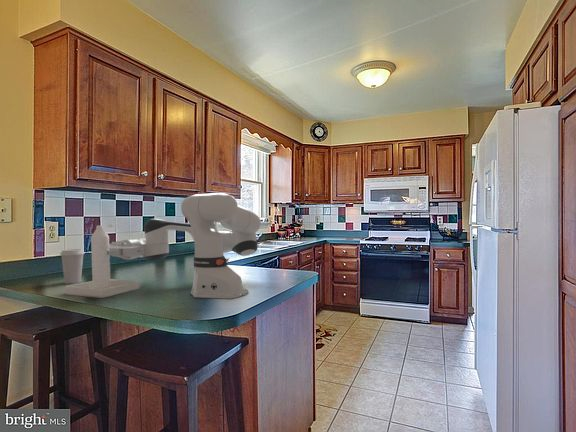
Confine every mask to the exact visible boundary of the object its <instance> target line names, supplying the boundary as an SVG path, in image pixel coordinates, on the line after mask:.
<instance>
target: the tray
mask: <svg viewBox="0 0 576 432" xmlns="http://www.w3.org/2000/svg"><path fill="white" fill-rule="evenodd" d="M110 280H111V286H110V287H108V288H102V289H101V288H100V289H94V288H93V284H92V283H93V281H92V280H90V281H84V282H79V283H73V284H71V285H70V284H69V285H66V286H64V294H65V295H71V296H81V297H88V298H98V299H105V298H108V297H112V296H115V295H120V294H124V293H127V292H132V291H135V290H140V281H139V280H129V279H128V280H126V279H116V278H111V279H110Z"/></svg>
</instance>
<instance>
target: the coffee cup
mask: <svg viewBox="0 0 576 432" xmlns="http://www.w3.org/2000/svg"><path fill="white" fill-rule="evenodd" d="M85 253H86V252H85V251H84V250H83V249H82V248H72V249H71V248H70V249H62V250H61V252H60V254H59V256H61V263H62V272H63V282H64V284H67V285H68V284H69V285H70V284H71V285H73V284H79V283H82V276H83V275H82V274H83V273H82V272H83V260H84V255H85Z"/></svg>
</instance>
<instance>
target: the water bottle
mask: <svg viewBox="0 0 576 432" xmlns="http://www.w3.org/2000/svg"><path fill="white" fill-rule="evenodd" d="M114 227H115V224H106V228H114ZM109 244H110V236H109V234H108V233H107V232H106V230H105V229H104V225H96V228H95V231H94V232H93V233H92V235H91V237H90V245H91V249H90V250H91V275H92V277H91V278H92V279H91V281H93V283H92V284H93V288H94V289H100V288H101V289H102V288H108V287H110V286H111V280H110V279H112V278H111V261H110V260H111V256H110V255H107V251H109Z"/></svg>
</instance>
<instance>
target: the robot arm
mask: <svg viewBox="0 0 576 432" xmlns="http://www.w3.org/2000/svg"><path fill="white" fill-rule="evenodd" d="M180 208H181V209H180V210H181V213H182V215H183V217H184V218H186V220H187V222H183V221H182V222H181V221H171V220H166V219H163V218H158V217H157V218H151V219H148V220H147V221H146V222H145V223H144V225H143V229H144V231H143V232H144V237H140V238H128V239H122V240H118V241H112V242H111V243H109V251H107V255H110V257H116V258H120V259H123V260H126V261H129V260H133V259H134V260H135V259H138V258H143V259H145V260H147V261H156V260H163V259H165V258H166V257H167V256H168V255H169V253H170V247H169V246H170V245H169V231H179V232H186V233H188V234H189V235H190V236H191V238H192V240H193V241H194V242H193V243H194V256H193V269H194V270H193V271H194V273H193V274H194V275H193V282H192V287H191V289H190V290H191V291H190V294H191V295H192V297H193V298H202V299H204V298H205V299H224V300H225V299H228V300H231V299H236V298H240V297H243V296H245V295H247V294H248V293H249V289H248V288H245V287H244V286H243V281H242V278H241V276H240V275H239V274H238V273H237V272H236V271H235V270H233V269H232V268H231V267H230V266H228V262H229V261H230V258H226V257H225V255H224V254H225V253H228V252H231V251H232V252H234V253H236V254H237V255H239V256H243V257H246V256H252V255H253V254H255V253H256V252H257V250H258V242H257V235H256V233H257V232H258V231H259V230H260V228H261V225H262V223H261V218H260V217H259V216H258V215H257V214H256V213H255V212H253V211H251V210H250V209H248V208H245V207H244V206H241V205H239V204H238V202H237V200H236V198H235V197H234V196H233V195H231V194H227V193H224V192H223V193H221V192H219V193H218V192H216V193H196V194H192V195H189V196H187V197H185V198H184V199H183V200H182V202H181V206H180ZM215 223H217V224H218V223H219V224H220V225H221V226H222V228H225V229H228V230H230V231H226V230H225V231H224V230H217V228H216V225H215ZM246 293H247V294H246ZM242 295H243V296H242Z"/></svg>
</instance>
